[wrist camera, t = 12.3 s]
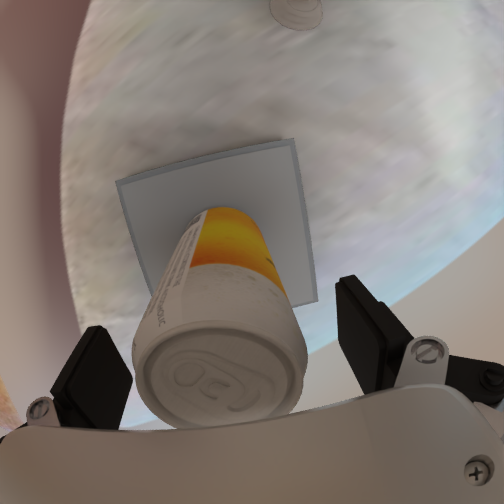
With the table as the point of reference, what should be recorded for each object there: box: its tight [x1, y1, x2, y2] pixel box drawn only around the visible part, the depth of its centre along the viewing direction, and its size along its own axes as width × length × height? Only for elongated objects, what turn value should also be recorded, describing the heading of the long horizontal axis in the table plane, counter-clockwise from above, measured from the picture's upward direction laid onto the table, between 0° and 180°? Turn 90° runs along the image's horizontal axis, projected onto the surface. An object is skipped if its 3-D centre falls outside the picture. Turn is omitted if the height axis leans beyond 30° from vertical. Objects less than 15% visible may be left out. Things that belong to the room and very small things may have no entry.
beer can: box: [132, 207, 308, 429], centre depth 15 cm, size 6×6×15 cm
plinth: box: [115, 138, 318, 308], centre depth 24 cm, size 14×14×4 cm
